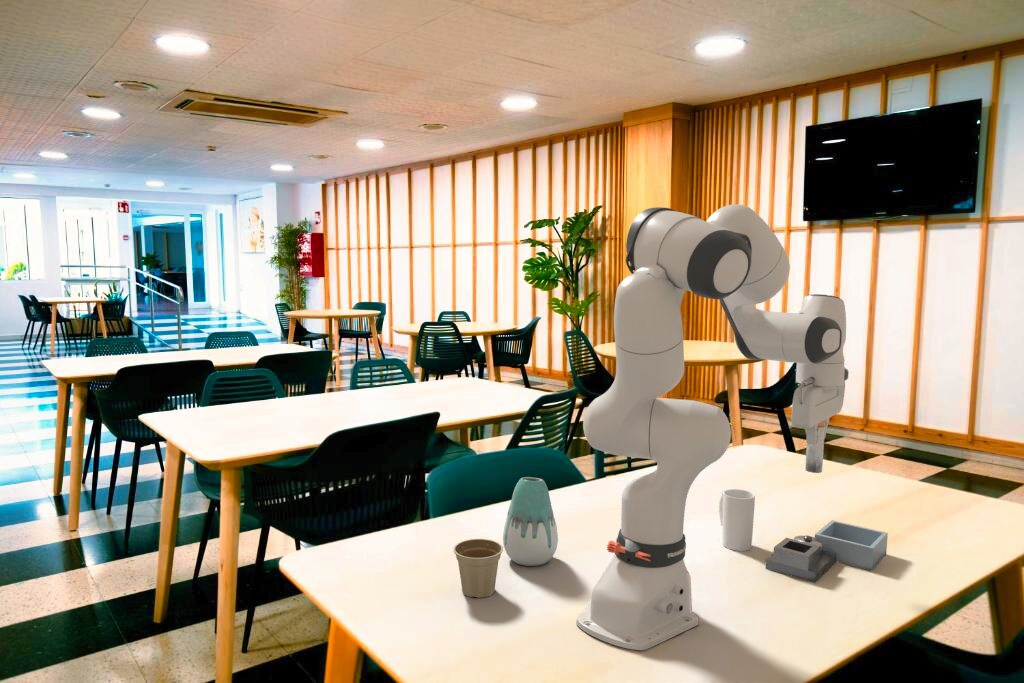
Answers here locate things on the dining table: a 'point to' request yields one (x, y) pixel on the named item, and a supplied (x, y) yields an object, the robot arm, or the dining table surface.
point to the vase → (530, 524)
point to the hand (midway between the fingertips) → (815, 441)
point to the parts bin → (853, 544)
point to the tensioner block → (801, 558)
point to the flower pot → (478, 566)
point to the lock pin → (816, 451)
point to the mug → (737, 518)
